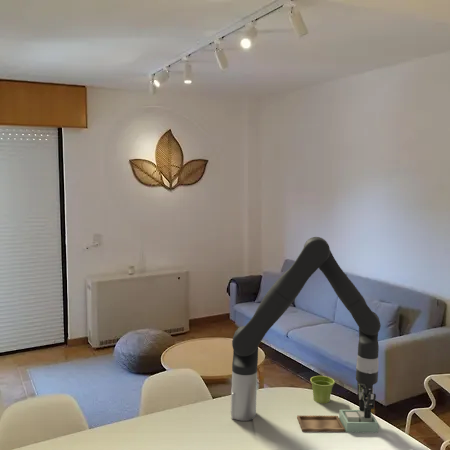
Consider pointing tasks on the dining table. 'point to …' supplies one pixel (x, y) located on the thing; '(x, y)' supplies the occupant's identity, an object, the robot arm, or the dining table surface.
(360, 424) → the bin
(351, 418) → the stone
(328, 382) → the plant pot
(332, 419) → the tray
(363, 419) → the stone
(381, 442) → the dining table surface
